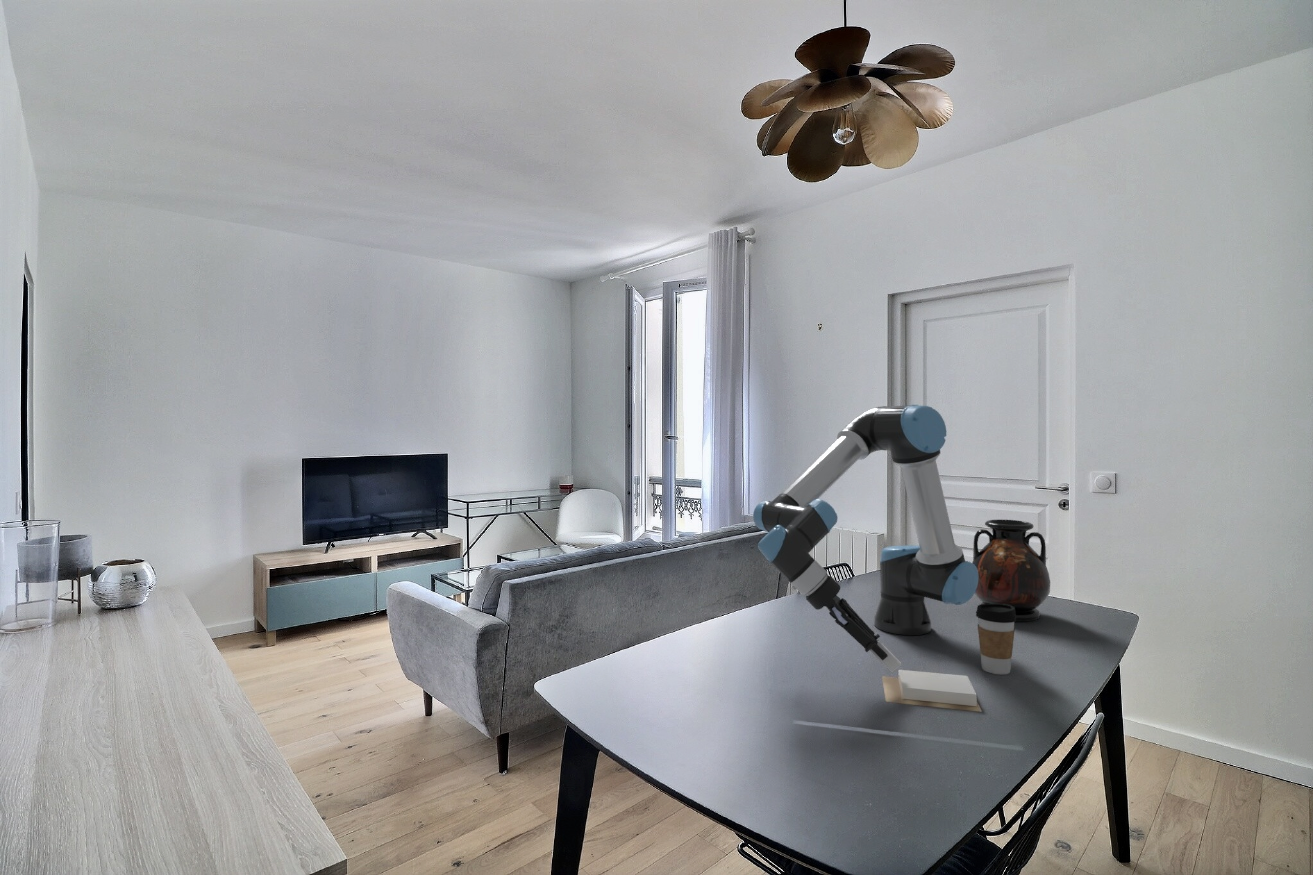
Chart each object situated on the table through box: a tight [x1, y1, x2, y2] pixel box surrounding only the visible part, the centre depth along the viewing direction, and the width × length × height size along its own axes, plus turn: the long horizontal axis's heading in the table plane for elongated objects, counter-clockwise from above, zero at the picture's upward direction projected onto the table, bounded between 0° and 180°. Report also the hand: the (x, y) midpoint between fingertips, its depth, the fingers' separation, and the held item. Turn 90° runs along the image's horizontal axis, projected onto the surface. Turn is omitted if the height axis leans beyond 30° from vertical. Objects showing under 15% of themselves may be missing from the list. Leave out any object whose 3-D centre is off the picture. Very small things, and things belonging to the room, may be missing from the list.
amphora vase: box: [971, 519, 1051, 622], centre depth 194 cm, size 22×22×28 cm
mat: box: [881, 675, 983, 713], centre depth 137 cm, size 18×14×1 cm
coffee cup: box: [975, 604, 1017, 676], centre depth 151 cm, size 8×8×15 cm
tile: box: [897, 669, 978, 706], centre depth 137 cm, size 3×10×14 cm
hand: (896, 667), depth 139 cm, fingers closed
